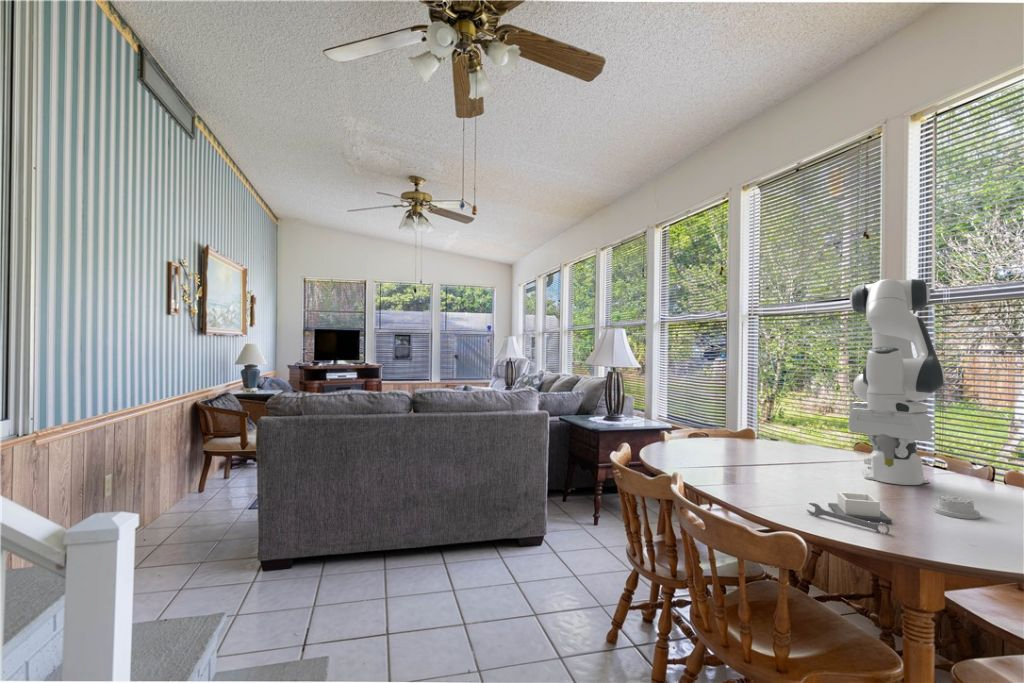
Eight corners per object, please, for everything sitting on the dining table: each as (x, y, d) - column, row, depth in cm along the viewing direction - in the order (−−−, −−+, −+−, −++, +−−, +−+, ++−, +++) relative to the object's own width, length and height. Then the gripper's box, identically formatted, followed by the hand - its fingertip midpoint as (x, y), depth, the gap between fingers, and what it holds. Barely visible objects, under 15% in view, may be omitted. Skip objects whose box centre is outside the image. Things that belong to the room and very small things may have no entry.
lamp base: (828, 506, 147) (827, 489, 147) (875, 510, 143) (875, 492, 143) (839, 519, 136) (839, 501, 136) (891, 523, 132) (891, 505, 132)
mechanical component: (936, 506, 146) (929, 513, 140) (936, 491, 147) (929, 498, 140) (982, 514, 139) (977, 522, 132) (982, 498, 139) (976, 506, 133)
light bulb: (905, 468, 135) (904, 432, 136) (882, 468, 137) (881, 432, 137) (895, 464, 141) (894, 430, 141) (873, 464, 142) (872, 429, 142)
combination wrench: (890, 522, 125) (808, 500, 142) (888, 523, 124) (806, 501, 141) (890, 537, 125) (808, 513, 142) (888, 538, 124) (806, 514, 141)
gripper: (842, 401, 148) (844, 447, 147) (920, 407, 129) (922, 460, 128) (856, 400, 150) (858, 445, 150) (934, 406, 131) (937, 457, 131)
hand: (888, 452), depth 139 cm, fingers closed on light bulb, 4 cm apart
